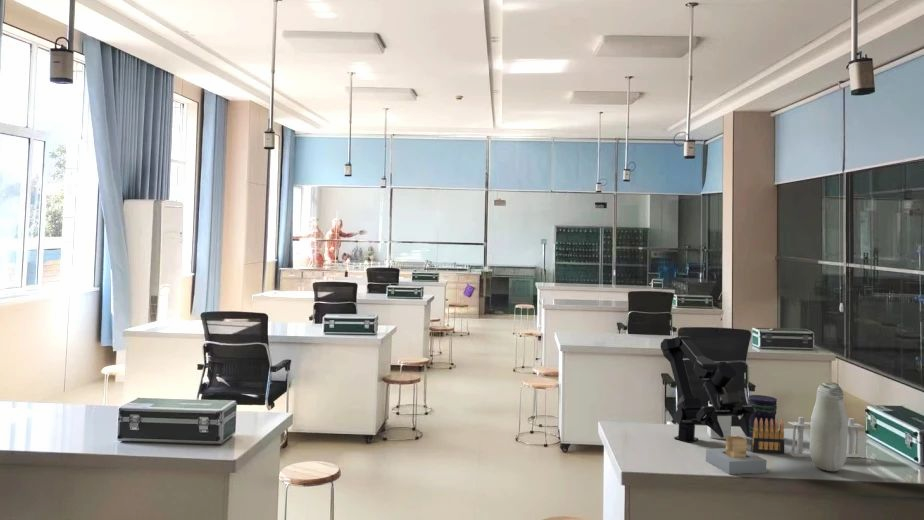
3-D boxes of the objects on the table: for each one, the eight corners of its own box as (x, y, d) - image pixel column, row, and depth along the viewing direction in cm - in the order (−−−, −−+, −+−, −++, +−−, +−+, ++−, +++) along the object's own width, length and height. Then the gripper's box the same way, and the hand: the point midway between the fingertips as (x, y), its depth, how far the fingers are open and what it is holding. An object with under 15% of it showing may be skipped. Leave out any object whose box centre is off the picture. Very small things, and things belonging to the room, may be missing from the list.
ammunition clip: (782, 452, 231) (783, 418, 231) (784, 454, 229) (786, 419, 229) (750, 450, 232) (752, 416, 232) (752, 452, 230) (754, 418, 230)
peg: (725, 463, 215) (726, 435, 215) (737, 462, 216) (738, 435, 216) (733, 467, 211) (734, 439, 211) (745, 467, 212) (746, 439, 212)
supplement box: (731, 440, 245) (732, 406, 244) (709, 438, 246) (711, 404, 246) (727, 434, 252) (728, 401, 252) (706, 432, 253) (708, 400, 253)
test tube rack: (855, 454, 232) (857, 417, 232) (864, 458, 227) (865, 420, 227) (785, 453, 231) (787, 415, 231) (792, 457, 227) (794, 418, 226)
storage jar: (780, 441, 245) (782, 401, 244) (753, 440, 245) (755, 400, 244) (768, 434, 255) (769, 395, 254) (742, 433, 255) (744, 394, 254)
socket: (705, 460, 219) (706, 448, 219) (741, 459, 221) (741, 447, 221) (728, 474, 206) (729, 461, 206) (766, 472, 208) (766, 460, 208)
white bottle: (852, 473, 210) (856, 386, 210) (826, 476, 207) (830, 387, 207) (827, 463, 220) (831, 380, 219) (802, 465, 217) (805, 380, 216)
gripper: (702, 381, 217) (720, 424, 206) (753, 381, 220) (773, 423, 210) (688, 400, 225) (705, 442, 214) (738, 399, 228) (756, 440, 218)
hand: (735, 436), depth 214 cm, fingers open, 9 cm apart
